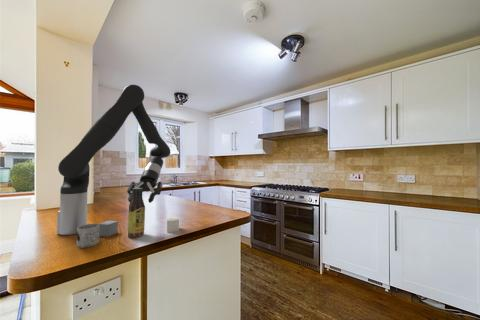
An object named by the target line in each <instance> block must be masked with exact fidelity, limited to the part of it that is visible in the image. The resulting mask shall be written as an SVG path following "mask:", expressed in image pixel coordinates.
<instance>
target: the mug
mask: <svg viewBox="0 0 480 320" xmlns="http://www.w3.org/2000/svg"><path fill="white" fill-rule="evenodd" d="M99 243H100V236H99V223H87V224H86V225H82V226H79V227H78V228H77V233H76V248H78V249H81V248H90V247H94V246H97V245H98V244H99Z"/></svg>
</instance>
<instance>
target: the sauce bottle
mask: <svg viewBox="0 0 480 320" xmlns="http://www.w3.org/2000/svg"><path fill="white" fill-rule="evenodd" d="M132 192H133V197H132V201H131V202H129V204H128V210H127V211H128V215H127V217H128V218H127V237H128V238H131V239H133V238H139V237H142V236H143V235H144V233H145V226H146V225H145V222H146V221H145V220H146V219H145V218H146V206H145V203H144V200H143V193H144V192H143V188H133V189H132Z"/></svg>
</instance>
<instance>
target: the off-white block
mask: <svg viewBox="0 0 480 320" xmlns="http://www.w3.org/2000/svg"><path fill="white" fill-rule="evenodd" d="M179 224H180V220H179V217H178V216H176V217H167V218H166V233H170V232H172V233H173V232H179V231H180V225H179Z"/></svg>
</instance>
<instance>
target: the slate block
mask: <svg viewBox="0 0 480 320" xmlns="http://www.w3.org/2000/svg"><path fill="white" fill-rule="evenodd" d="M98 224H99V237H106V238H107V237H111V236H113V235H115V234H118V233H119V221H117V220H106V221H103V222H100V223H98Z"/></svg>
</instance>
